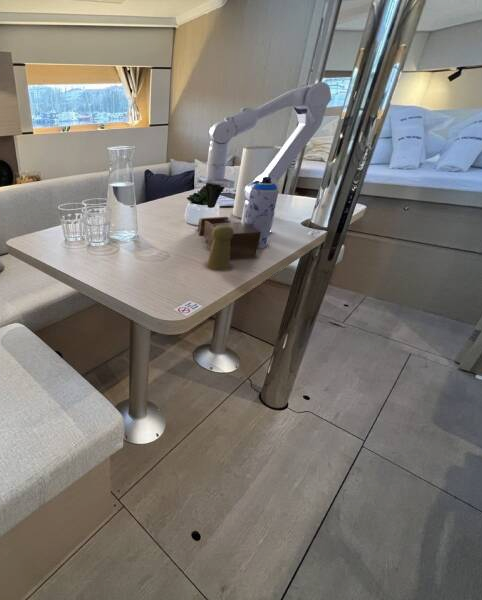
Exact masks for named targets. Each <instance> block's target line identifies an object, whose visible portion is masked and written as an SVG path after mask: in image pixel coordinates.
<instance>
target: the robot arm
mask: <svg viewBox="0 0 482 600" xmlns="http://www.w3.org/2000/svg"><path fill="white" fill-rule="evenodd" d="M331 93H332V91H331V87H330V85H329V84H328V83H327V82H325V81H319V82H316V83H312V84H304V85H301V86H299V87H298V88H293V89H291V90H288V91H286V92H284V93H282V94H280V95H279V96H277V97H275V98H273V99H271V100H269V101H268V102H266V103H264V104H261V105H260V106H258V107H256V108H253V107H250V106H249V107H242V108H240V111H239V112H237V113H235V114H233V115H230V117H229V116H226V117H224V118H223V119H224V120H223V121H217V122H216V123H214V124H213V125H212V127H210V129H209V132H208V139H209V141H210V143H209V148H208V156H207V165H206V173H205V176H203V175H201V176H196V180H195V182H196V184H203V186H202V190H203V193H204V195H205V198H206V205H207V208H209V209H213V208H215V207H216V205H217V202H218V200H219V197H220V196H221V194H222V193H223V191H224V190H225V188H226V189H234V188H235V181H234V180H231V179H227V178H225V175H226V169H227V161H228V154H229V145H230V141H231V140H232V139H233V138H234V137H237V136H240V135H241V134H243V133H245V132H247V131H250V130H251V129H253V128H255V127H256V125H257V124H258V122H259V120H262V119H264V118H266V117H268V116H270V115H273V114H274V113H277V112H279V111H282V110H283V109H287V108H292V109H293V111H294V112H295V114H296V116H297V121H298V125H297V126H296V127H295V129H294V130H293V132H292V133H291V134H290V136H289V137H288V139H287V140H286V141H285V143H284V144H283V145H282V147H281V150H280V151H279V152H278V154H277V155H276V156H275V158H274V159H273V160H272V162H271V163H270V164H269V166H268V167H267V169H266V170H265V171H264V173H263V174H261V175H260V176H258V177H257V178H256V179H255V180H254V181H253V182H252V183H251V184H249V185H248V186H247V187H246V188H245V190H244V198H245V199H246V201H245V203H244V209H243V214H242V218H241V221H240V222H245V217H246V211H247V206H248V201H249V195H250V190H251V188H252V187H254V185H255V184H257V183H259V182H262V178H263V177H270V178H271V182H273V183H274V184H275V185H276V186H277V188H279V187H278V185H279V180H280V179H281V178H282V177H283V175H285V173H286V171H287V170H288V169H289V167H290V166H291V165H292V164H293V163H294V161H295V160H296V158H297V157H298V156H299V155H300V153H301V152H302V150H303V149H304V148H305V147H306V146H307V144H308V143H309V142H310V140H311V139H312V138H313V136H314V135H315V134H316V132H317V131H318V130H319V129H320V127H321V125H322V124H323V120H324V117H325V114H326V109H327V107H328V105H329V104H330V102H331V101H332V94H331ZM204 184H205V185H204ZM274 218H275V213H274V214H273V218H272V223H271V227H270V231H269V234H272V232H273V231H272V227H273V222H274Z"/></svg>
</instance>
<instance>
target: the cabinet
mask: <svg viewBox="0 0 482 600" xmlns="http://www.w3.org/2000/svg"><path fill="white" fill-rule="evenodd" d="M217 226H229V227H231V228H232V229H233V231H234V234H233V237H232V239H231V240H230V260H242V259H255V258H256V257H257V252H258V249H259V248H258V244H259V239H260V234H261V232H260V231H258V230H257V229H255V228H253V227H251V226H250V225H248V224H246V223H244V222H241V221H231V222H230V223H216V224H210V229H209V236H208V240H207V244H206V248H207V249H208V250H209V252H210V251H211V247H212V244H213V240H214V238H213V236H212V232H213V229H214V228H215V227H217Z"/></svg>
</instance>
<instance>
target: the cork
mask: <svg viewBox="0 0 482 600" xmlns="http://www.w3.org/2000/svg"><path fill="white" fill-rule="evenodd" d="M233 234H234V231H233V229H232V228H231V227H229V226H217V227H215V228H214V229H213V232H212V236H213V238H214V240H213V244H212V247H211V251H210V250H209V255H208V258H207V261H206V268H208V269H210V270H212V271H227V270H229V269H230V268H231V267H230V266H231V265H230V263H231V262H230V261H231V259H230V240H231V239H232V237H233Z"/></svg>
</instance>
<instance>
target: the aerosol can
mask: <svg viewBox="0 0 482 600" xmlns="http://www.w3.org/2000/svg"><path fill="white" fill-rule="evenodd" d="M278 195H279V187H277V186H276V185H275V184H274V183H273V182H271V178H270V177H263V178H262V182H259V183H257V184H255V185H254V187H252V188H251V190H250V195H249V201H248V206H247V211H246V217H245V222H244V223H246V224H248V225H250V226H251V227H253V228H255V229H257V230H258V231H260V232H261V234H260V239H259V244H258V248H257V249H265V248H266V247H267V246H268V240H269V235H270V233H269V231H270V227H271V223H272V218H273V214H274V215H275V209H276V204H277V200H278ZM273 219H274V218H273ZM272 224H273V223H272ZM271 228H272V227H271Z"/></svg>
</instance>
